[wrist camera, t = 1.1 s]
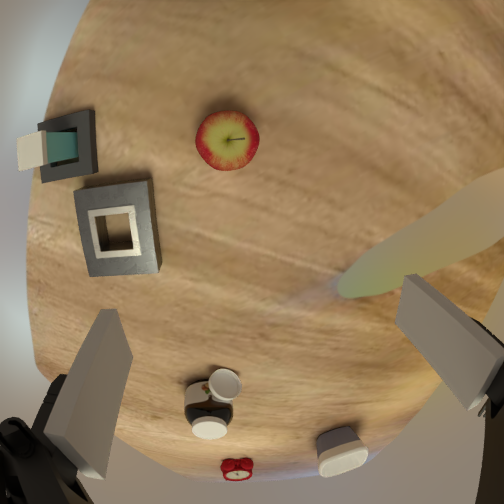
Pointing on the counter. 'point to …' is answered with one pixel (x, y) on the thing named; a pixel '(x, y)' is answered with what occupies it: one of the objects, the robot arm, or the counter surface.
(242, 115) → the apple
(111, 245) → the port
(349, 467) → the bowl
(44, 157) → the plug
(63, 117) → the dark grey square frame
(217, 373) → the spread jar
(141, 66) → the counter surface
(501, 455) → the robot arm
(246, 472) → the alarm clock
